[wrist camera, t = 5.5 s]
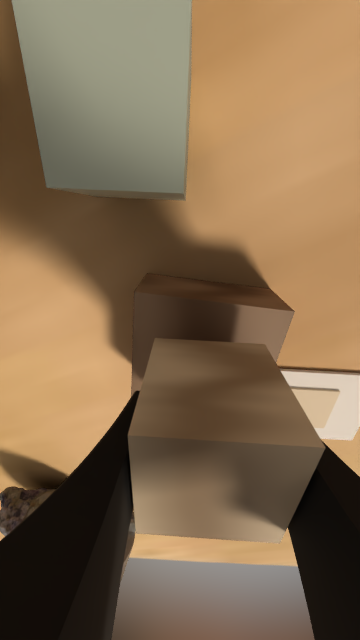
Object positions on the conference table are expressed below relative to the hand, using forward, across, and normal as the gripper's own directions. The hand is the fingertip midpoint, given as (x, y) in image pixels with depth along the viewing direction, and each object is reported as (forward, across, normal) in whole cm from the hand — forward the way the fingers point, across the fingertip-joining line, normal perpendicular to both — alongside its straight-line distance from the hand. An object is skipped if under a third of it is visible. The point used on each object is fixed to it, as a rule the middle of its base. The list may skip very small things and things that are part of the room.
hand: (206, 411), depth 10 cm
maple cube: (+2, 0, 0) cm, 2 cm away
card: (+7, -9, +6) cm, 13 cm away
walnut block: (+7, 0, 0) cm, 7 cm away
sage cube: (+7, +4, -11) cm, 14 cm away
